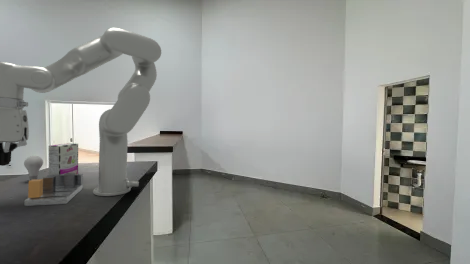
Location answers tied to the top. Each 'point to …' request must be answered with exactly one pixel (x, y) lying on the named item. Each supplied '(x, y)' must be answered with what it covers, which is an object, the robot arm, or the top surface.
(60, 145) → the candy bar box
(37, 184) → the cap
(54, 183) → the console
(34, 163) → the lightbulb
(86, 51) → the robot arm
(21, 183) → the top surface
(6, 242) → the top surface
